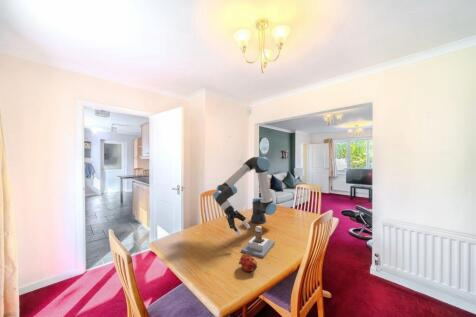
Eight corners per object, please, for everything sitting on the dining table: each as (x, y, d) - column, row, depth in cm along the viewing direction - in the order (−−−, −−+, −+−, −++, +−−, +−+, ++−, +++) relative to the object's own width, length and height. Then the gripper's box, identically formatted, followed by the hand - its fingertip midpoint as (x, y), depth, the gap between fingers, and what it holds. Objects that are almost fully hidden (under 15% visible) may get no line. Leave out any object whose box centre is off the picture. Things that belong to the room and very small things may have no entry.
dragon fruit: (240, 266, 110) (256, 278, 102) (233, 263, 105) (248, 276, 96) (247, 252, 113) (263, 263, 105) (240, 249, 107) (256, 260, 99)
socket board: (254, 239, 143) (254, 232, 143) (274, 243, 135) (274, 237, 135) (241, 251, 124) (241, 244, 124) (263, 258, 116) (263, 250, 116)
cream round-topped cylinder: (257, 243, 133) (256, 225, 133) (262, 245, 131) (262, 226, 131) (254, 246, 129) (254, 227, 129) (260, 247, 127) (260, 228, 127)
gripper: (232, 207, 155) (249, 228, 148) (215, 215, 133) (233, 240, 126) (238, 201, 152) (255, 222, 145) (220, 209, 131) (239, 234, 123)
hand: (244, 231), depth 135 cm, fingers open, 13 cm apart
